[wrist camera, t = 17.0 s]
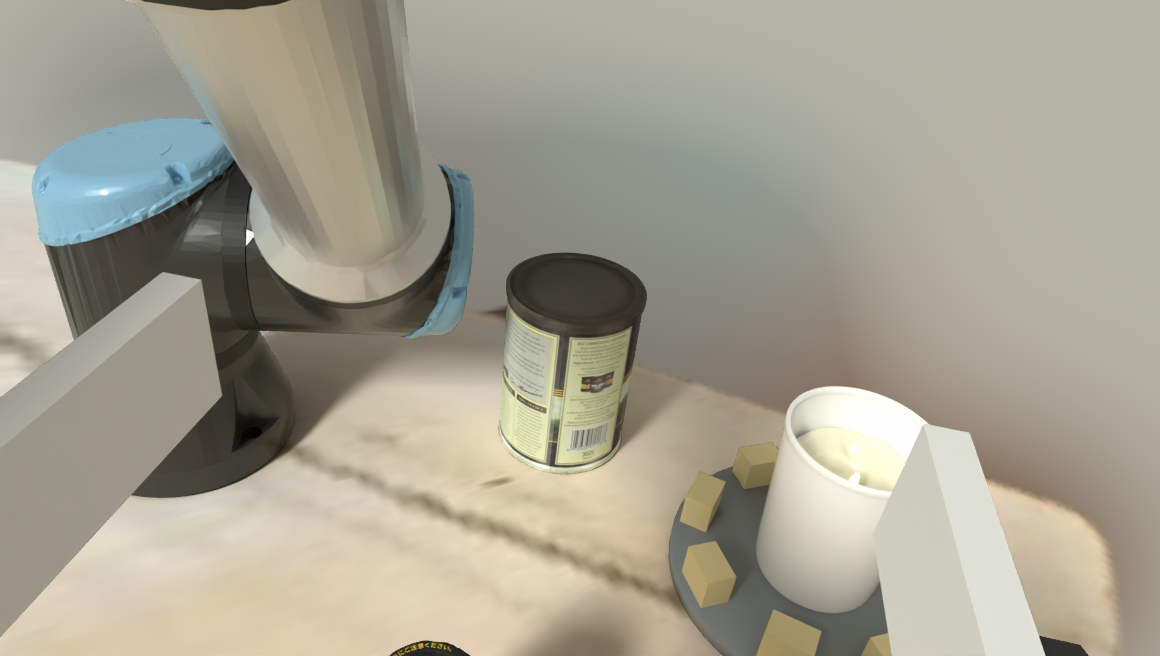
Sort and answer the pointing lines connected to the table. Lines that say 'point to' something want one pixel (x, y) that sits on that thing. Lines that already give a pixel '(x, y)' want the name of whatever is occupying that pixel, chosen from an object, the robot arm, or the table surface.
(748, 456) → the ring seat
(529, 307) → the coffee can
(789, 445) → the candle holder
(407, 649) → the condiment
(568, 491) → the table surface
